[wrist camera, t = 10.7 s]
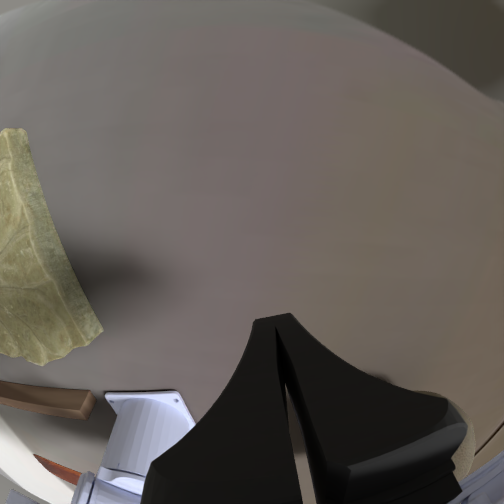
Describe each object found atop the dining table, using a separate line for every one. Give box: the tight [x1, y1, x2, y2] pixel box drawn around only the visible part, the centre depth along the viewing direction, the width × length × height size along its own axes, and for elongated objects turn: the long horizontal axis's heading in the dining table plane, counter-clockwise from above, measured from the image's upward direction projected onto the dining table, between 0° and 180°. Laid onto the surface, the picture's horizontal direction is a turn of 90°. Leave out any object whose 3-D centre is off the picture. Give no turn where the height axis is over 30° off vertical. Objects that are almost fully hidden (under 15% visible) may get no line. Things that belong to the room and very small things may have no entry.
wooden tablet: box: [33, 454, 82, 486], centre depth 31 cm, size 27×10×2 cm, turn 81°
